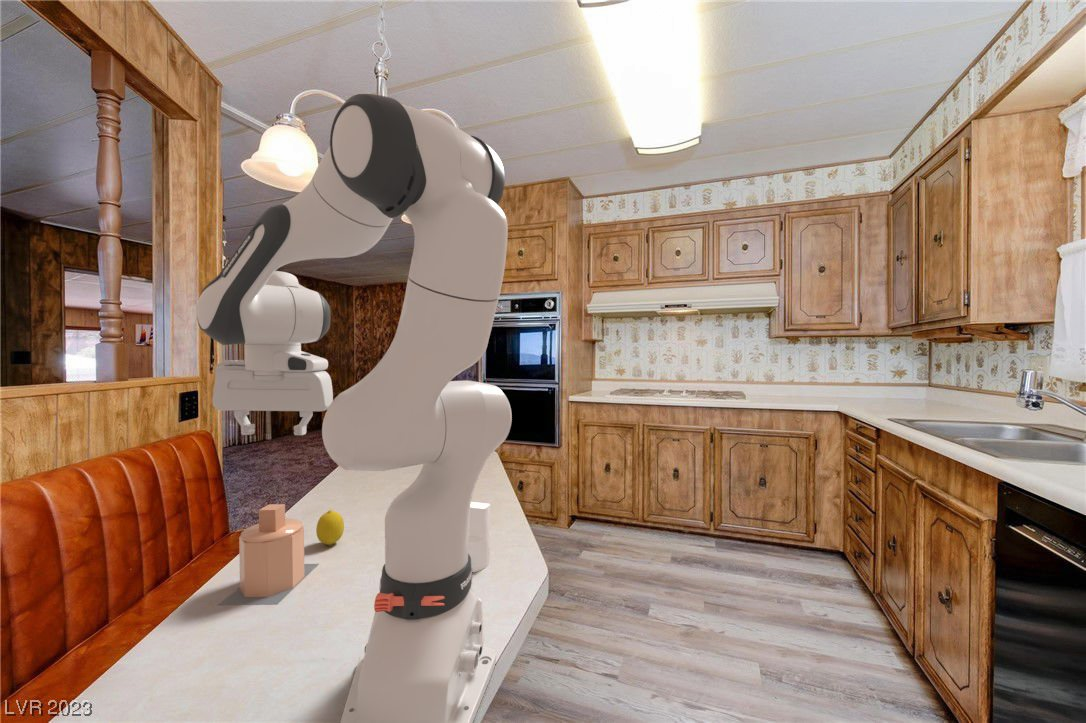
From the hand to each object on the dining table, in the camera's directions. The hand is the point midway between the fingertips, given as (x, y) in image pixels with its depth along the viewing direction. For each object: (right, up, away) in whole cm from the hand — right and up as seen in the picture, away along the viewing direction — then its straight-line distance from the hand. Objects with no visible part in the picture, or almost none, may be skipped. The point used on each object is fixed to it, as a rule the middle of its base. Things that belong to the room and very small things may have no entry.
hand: (274, 434), depth 80 cm
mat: (0, -28, 0) cm, 28 cm away
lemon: (+3, -28, +16) cm, 32 cm away
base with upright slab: (+35, -28, +8) cm, 45 cm away
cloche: (0, -28, 0) cm, 28 cm away
